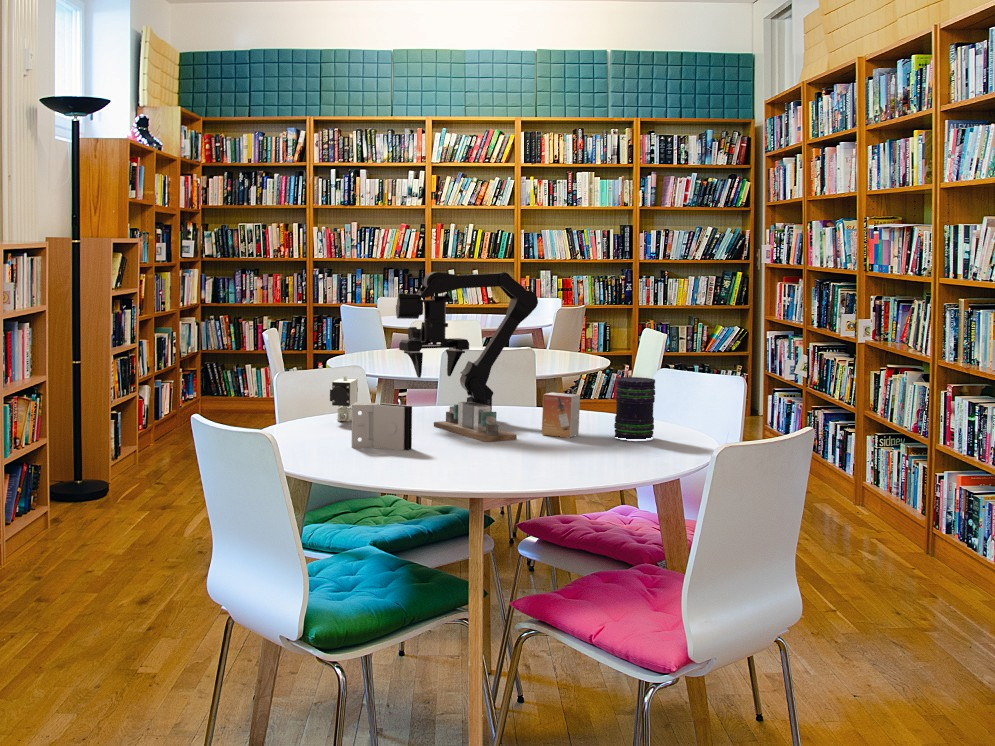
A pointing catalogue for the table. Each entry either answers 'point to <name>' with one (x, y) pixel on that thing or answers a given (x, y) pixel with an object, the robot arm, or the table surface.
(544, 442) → the table surface
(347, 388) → the pneumatic valve
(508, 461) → the table surface
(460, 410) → the block
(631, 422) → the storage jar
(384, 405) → the hinge
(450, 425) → the shaft coupling stand
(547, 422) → the small box
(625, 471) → the table surface
